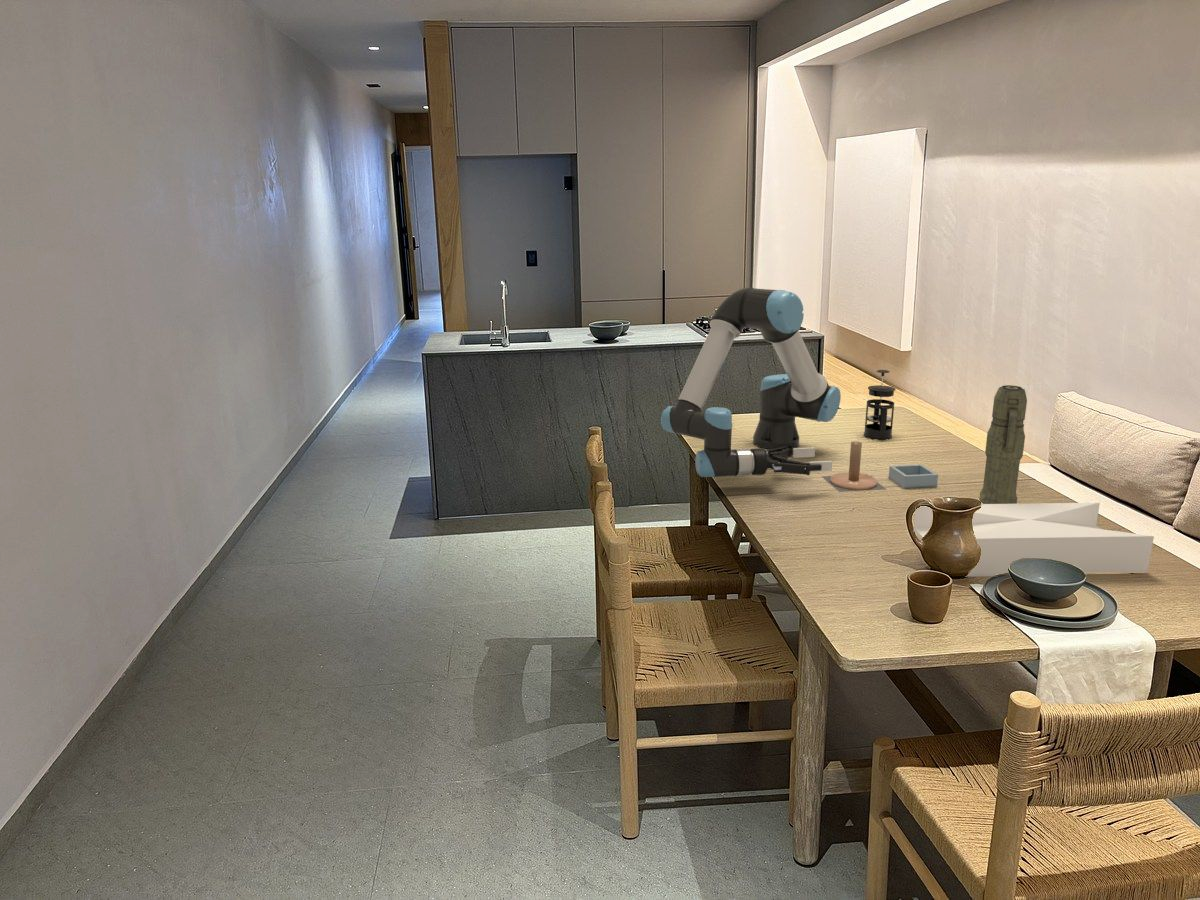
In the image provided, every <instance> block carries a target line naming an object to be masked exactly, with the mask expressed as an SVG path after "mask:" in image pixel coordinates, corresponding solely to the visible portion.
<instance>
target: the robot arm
mask: <svg viewBox="0 0 1200 900" xmlns="http://www.w3.org/2000/svg"><path fill="white" fill-rule="evenodd" d="M803 311H804V306H803V302H802V300H801V298H800V297H799V296H798V295H797V294H796V293H795V292H792V291H787V290H784V289H767V288H766V289H765V288H754V287H744V288H743V287H742V288H739V289H738V290H736V291H734V292H733V293H731V294H730V295H728V296H727V297H726V298H725V299H724V300H723V301H722V302H721V303H720V304H719V306H718V307H717V308H716V310H715V311H714V313H713V315H712V317H711V320H710V321H709V326H710V330H709V331H708V334H707V335H706V338H705V340H704V342H703V345H702V347H701V349H700V352H699V354H698V356H697V357H696V360H695V363H694V364H693V367H692V369H691V370H690V373H689V375H688V377H687V379H686V381H685V384H684V386H683V388H682V390H681V392H680V394H679V396H678V399H677V401H676V402H675V405H669V406H667V407H666V408H665V409H664V410H662V413H661V417H660V425H661V426H662V428H663V430H664V431H666V432H669V433H671V434H675V435H680V436H684V437H685V436H686V437H691V438H694V439H698V440H703V443H704V445H703V449H702V450H699V451H697V452H696V453H695V459H694V460H695V464H694V465H695V470H696V473H697V475H698V476H699V477H701V478H719V477H720V478H721V477H738V478H742V477H743V476H750V475H752V476H762V475H765V474H766V472H767V471H768V469H771V470H773V473H775V474H776V473H783V474H784V473H785V474H793V475H794V474H796V475H805V476H811V475H810V474H811V473H814V472H815V473H816V472H831V471H833V461H832V460H821V461H808V462H804V461H803V462H802V461H796V460H791V459H788V458H791V457H792V459H796V458H797V459H798V458H815V457H816V456H815V455H816V454H815V453H816V447H813V446H812V447H799V446H800V436H799V435H800V434H799V431H798V428H797V425H796V418H799V419H800V418H801V419H805V420H811V421H814V422H818V423H820V422H821V423H828V422H831V421H832V420H833V419H834V418H835V416H836V415H837V413H838V410H839V408H840V404H841V390H840V387H837V386H835V385H830V384H829V383H828V381H827V378H826V377H825V376H824V375H823V374H821V373H819V372H818V370H817V367H816V366H815V364H814V361H813V360H812V357H811V355H810V353H809V350H808V348H807V346H806V343H805V341H804V340H803V337H802V333H800V328H801V326H802V324H803V322H804V321H803V320H804V314H805V313H804V312H803ZM744 329H751V330H758V331H759V332H760V333H761V336H762V338H763V339H764V340H765V341H766V342H767V343H771V344H772V346H773V349H774V350H775V352H776V355H777V356H778V358H779V361H780V363H781V364H782V367H783V369H784V371H785V373H783V374H779V373H778V374H773V375H768V376H765V377H763V378H762V380H761V382H760V390H759V391H760V392H759V393H760V397H759V399H760V400H759V421H758V423H757V426H756V428H755V431H754V434H753V436H752V437H753V440H752V443H753V445H755V446H756V445H758V446H757V448H751V449H749V448H737V449H732V431H733V420H732V419H733V418H732V417H733V415H732V411H731V410H730V408H729V409H728V408H727V407H719V406H714V407H713V406H712V407H709V408H706V409H705V412H703V411H702V410H703V407H704V406H705V404H706V401H707V399H708V397H709V395H710V393H711V390H712V388H713V386H714V385H715V382H716V379H717V378H718V376H719V374H720V370H721V369H722V366H723V364H724V362H725V361H726V358H727V356H728V354H729V351H730V348H731V347H732V344H733V343H734V341H735V339H737V338H740V335H741V333H742V331H743V330H744ZM759 446H760V447H759ZM762 447H763V448H762ZM767 448H768V449H767Z"/></svg>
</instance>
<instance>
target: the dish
mask: <svg viewBox="0 0 1200 900" xmlns="http://www.w3.org/2000/svg"><path fill="white" fill-rule="evenodd" d="M888 468H889V470H888V478H889V479H890V480H891V481H892V482H894V483H895V484H896V485H898V486H899V487H901V488H902V489H905V490H906V489H921V488H922V489H923V488H936V487H937V488H938V480H939V474H938V473H936V472H934V471H933V470H932V469H930V468H928V467H927V466H925V465H924V464H902V465H901V464H900V465H889V467H888Z"/></svg>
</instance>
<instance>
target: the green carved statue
mask: <svg viewBox="0 0 1200 900" xmlns="http://www.w3.org/2000/svg"><path fill="white" fill-rule="evenodd" d="M1027 402H1028V398H1027V393H1026V389H1025V388H1022V387H1021V386H1018V385H1013V384H1012V385H1009V384H1008V385H1007V384H1005V385H1001V386H999V387H998V389H997V391H996V392H995V395H994V397H993V406H992V411H991V412H992V414H991V417H992V420H991V422H990V427H989V428H988V431H987V434H986V435H987V436H986V441H985V450H984V451H985V456H986V457H985V458H986V459H985V468H984V469H985V470H984V477H983V484H982V488H981V491H980V492H979V499H978V500H980V501H981V502H982V503H983V504H1018V497H1017V487H1018V478H1019V471H1020V465H1021V460H1022V458H1023V456H1024V448H1025V440H1026V435H1025V434H1026V433H1025V430H1024V429H1025V428H1024V427H1025V424H1024V421H1025V420H1026V412H1027Z"/></svg>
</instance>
